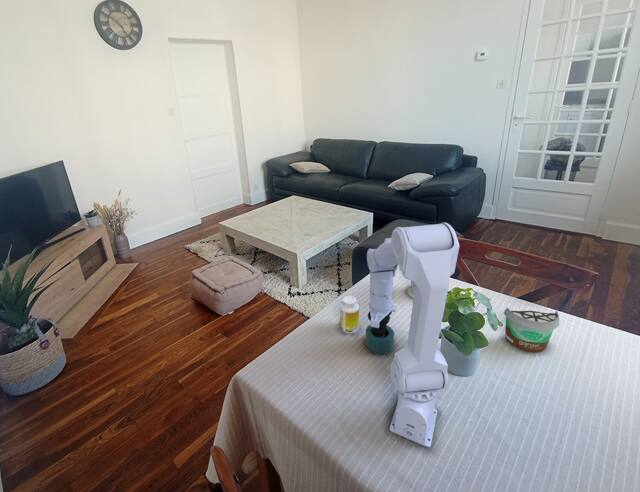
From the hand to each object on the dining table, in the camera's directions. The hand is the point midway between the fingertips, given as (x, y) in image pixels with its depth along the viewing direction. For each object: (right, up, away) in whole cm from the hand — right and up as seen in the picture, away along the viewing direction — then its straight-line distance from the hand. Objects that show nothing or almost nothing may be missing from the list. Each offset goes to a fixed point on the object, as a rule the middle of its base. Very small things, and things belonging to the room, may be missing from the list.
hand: (379, 333), depth 93 cm
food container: (+38, -3, -4) cm, 39 cm away
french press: (+20, +18, +17) cm, 32 cm away
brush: (0, -3, +1) cm, 3 cm away
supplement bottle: (-6, -2, +9) cm, 11 cm away
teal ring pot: (0, -4, +1) cm, 4 cm away
